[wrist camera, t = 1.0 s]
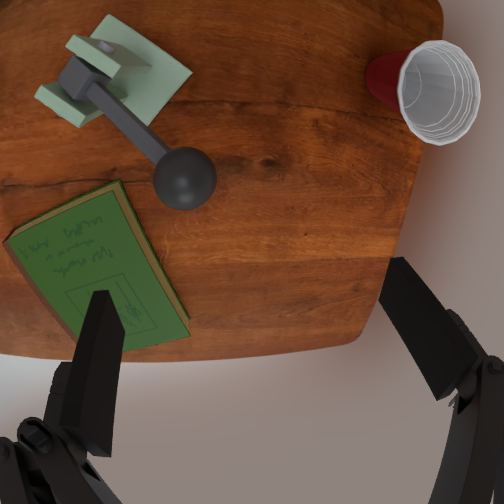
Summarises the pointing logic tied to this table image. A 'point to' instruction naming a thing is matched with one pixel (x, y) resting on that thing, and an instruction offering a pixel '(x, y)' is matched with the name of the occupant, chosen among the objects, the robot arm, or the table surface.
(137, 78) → the switch bracket
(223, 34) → the table surface
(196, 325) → the table surface
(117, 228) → the book
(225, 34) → the table surface
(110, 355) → the robot arm
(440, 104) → the plastic cup
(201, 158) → the switch lever
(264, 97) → the table surface
